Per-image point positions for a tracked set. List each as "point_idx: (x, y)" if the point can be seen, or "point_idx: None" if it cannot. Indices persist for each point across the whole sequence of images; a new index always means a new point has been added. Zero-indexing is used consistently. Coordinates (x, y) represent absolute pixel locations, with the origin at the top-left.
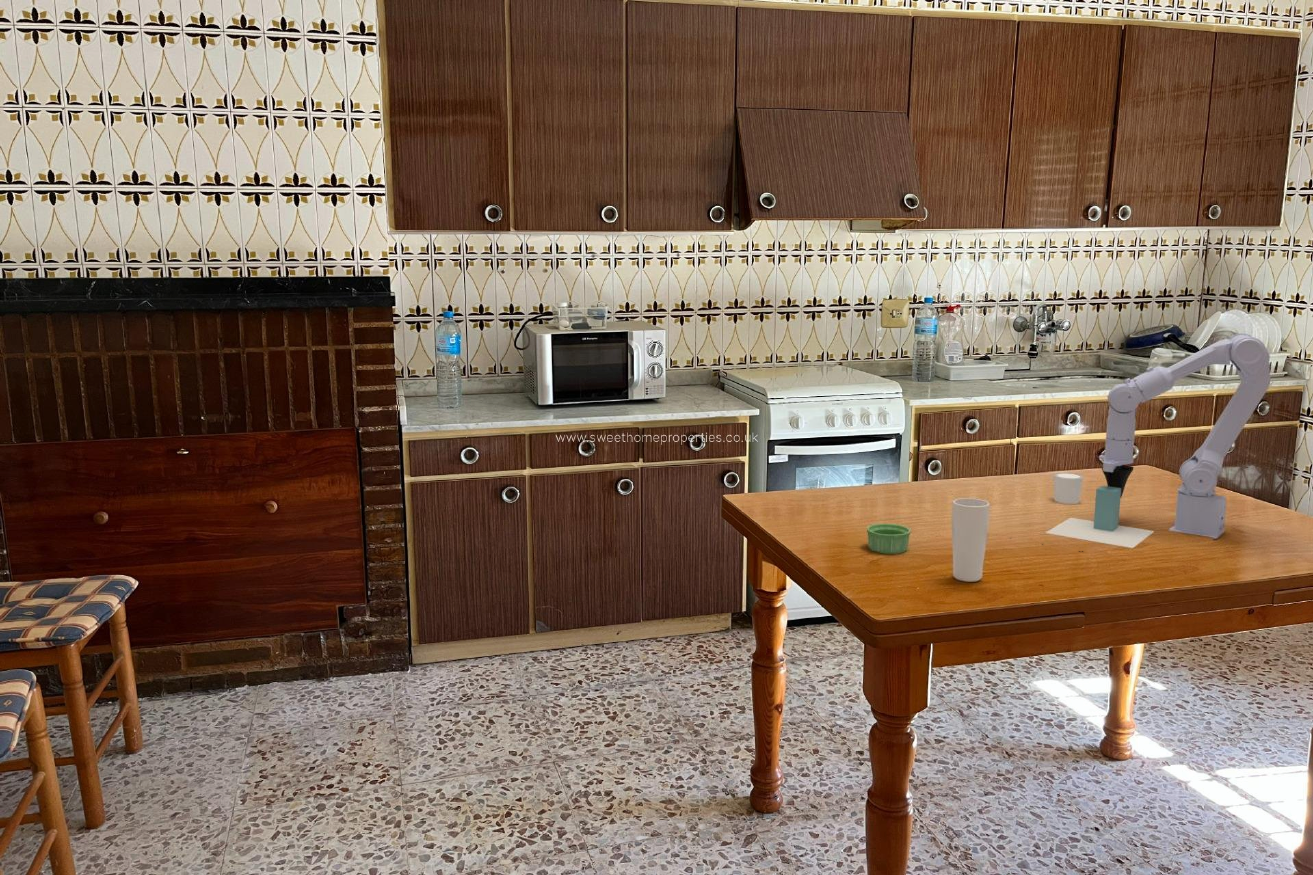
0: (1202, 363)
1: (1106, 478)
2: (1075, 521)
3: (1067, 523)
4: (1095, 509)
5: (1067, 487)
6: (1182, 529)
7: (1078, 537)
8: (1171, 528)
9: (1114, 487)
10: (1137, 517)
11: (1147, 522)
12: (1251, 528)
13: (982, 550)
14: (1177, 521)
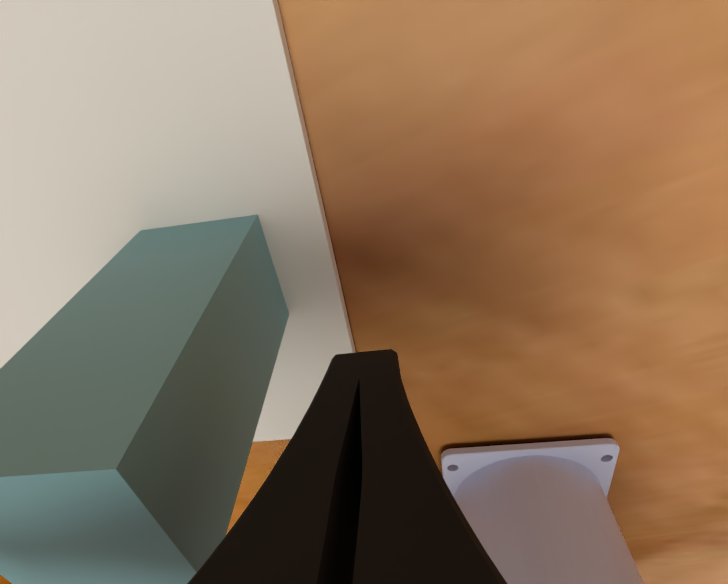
0: None
1: (203, 571)
2: (175, 38)
3: (61, 20)
4: (61, 314)
5: None
6: (458, 495)
7: None
8: (475, 457)
9: (175, 556)
10: (689, 264)
11: (584, 339)
12: (701, 565)
13: None
14: (483, 506)
